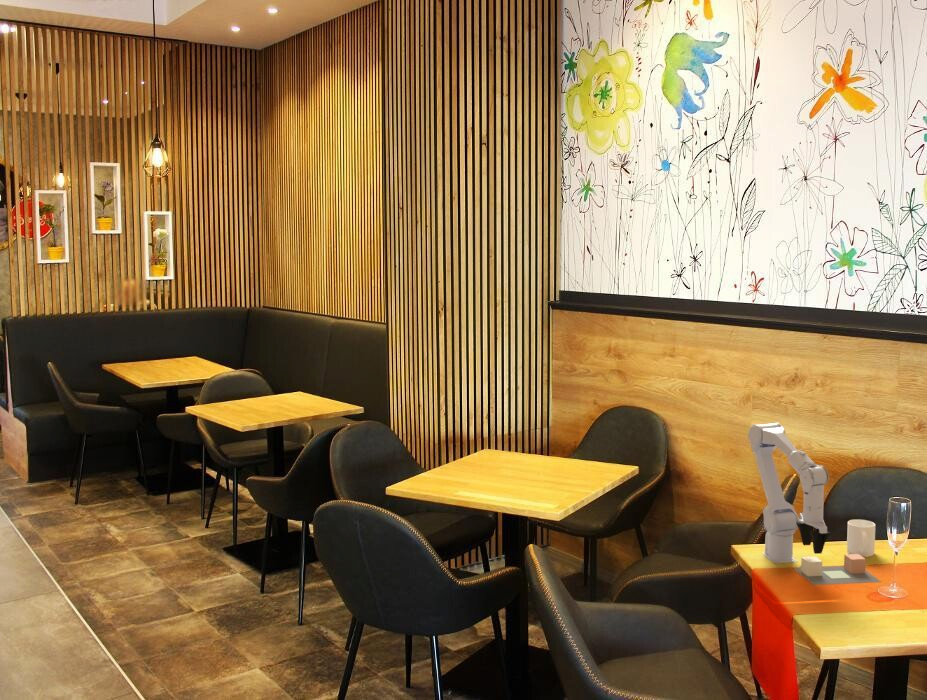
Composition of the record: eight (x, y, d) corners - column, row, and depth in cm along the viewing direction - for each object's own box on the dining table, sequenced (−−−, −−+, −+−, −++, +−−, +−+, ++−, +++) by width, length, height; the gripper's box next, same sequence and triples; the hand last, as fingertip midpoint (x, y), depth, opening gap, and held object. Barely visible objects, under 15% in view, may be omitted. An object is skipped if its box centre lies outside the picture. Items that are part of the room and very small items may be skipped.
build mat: (793, 569, 289) (793, 567, 289) (858, 566, 291) (858, 564, 291) (813, 586, 275) (813, 584, 275) (881, 583, 277) (881, 581, 277)
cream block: (801, 571, 286) (801, 557, 286) (815, 570, 287) (815, 556, 286) (807, 576, 282) (807, 562, 281) (821, 575, 282) (822, 561, 282)
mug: (878, 563, 294) (879, 531, 293) (850, 561, 296) (851, 529, 295) (872, 550, 305) (873, 520, 304) (845, 548, 307) (846, 518, 306)
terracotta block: (843, 568, 288) (844, 554, 287) (857, 567, 288) (858, 553, 288) (851, 573, 284) (851, 559, 283) (865, 573, 284) (865, 558, 283)
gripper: (790, 499, 289) (789, 541, 290) (811, 513, 274) (810, 557, 276) (812, 498, 289) (811, 540, 291) (834, 512, 275) (833, 556, 276)
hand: (812, 549), depth 283 cm, fingers open, 7 cm apart
